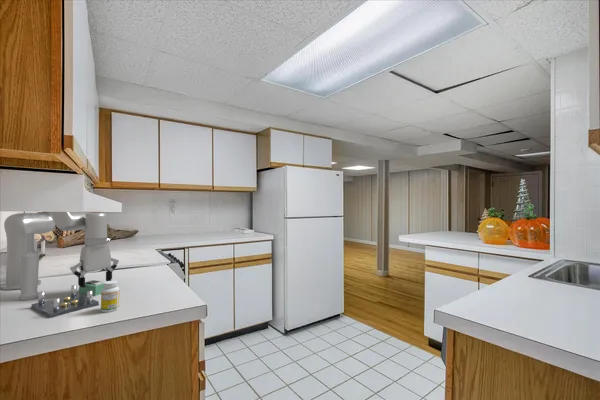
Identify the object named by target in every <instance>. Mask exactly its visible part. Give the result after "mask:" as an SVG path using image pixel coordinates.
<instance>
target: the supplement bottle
mask: <svg viewBox="0 0 600 400" xmlns="http://www.w3.org/2000/svg"><path fill="white" fill-rule="evenodd" d="M118 283H119V282H118V281H117V280H111V281H105V282H104V287H105V288H103V289H102V291H101V294H100V311H101V312H103V313H111V312H115V311H117V310H119V308H120V287H119V286H118V285H119V284H118Z"/></svg>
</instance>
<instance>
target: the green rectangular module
mask: <svg viewBox="0 0 600 400" xmlns="http://www.w3.org/2000/svg"><path fill="white" fill-rule="evenodd" d="M104 282H106V280H94V279H92V280H88V281H85V287H83V288H82V287H80V286H79V285H78V287H79V288H78V294H80V295H86V296H87V291H93V296H92V297H97V296H99V295H100V296H101V291H102V289H103V288H105V287H104Z"/></svg>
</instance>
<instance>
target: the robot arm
mask: <svg viewBox="0 0 600 400" xmlns="http://www.w3.org/2000/svg"><path fill="white" fill-rule="evenodd" d="M84 172H85V171H84ZM84 172H83V174H85V173H84ZM3 227H4V232H5V237H6V265H5V266H6V268H5V269H6V272H5V276H6V277H5V283H3V284H0V289H1V290H5V291H6V290H7V291H8V290H9V291H10V290H12V291H13V290H21V255H23V254H24V253H25V251H27V233H34V235H38V234H39V235H40V234H46V233H47V234H48V233H50V232H52V231H53V230H54V229H55V228H56V227H57V228H58V230H60V231H64V232H72V231H83V230H84V246H82V247H81V250H80V256H79V262H77V263H76V264H74V265H72V266H70V267H69V269H70V271H71V272H72V274H73V275H75V277H77V278H78V280H77V282H78V283H77V285H78V287H79V286H80V287H82V288H83V287H85V283H86V277H85V276H86V274H87V273H88V272H94V271H100V270H106V271H105V282H107V281H112V279H113V272H114V270H115V269H116V268H117V267H118V266H117V265H118V264H119V262H120V260H119V259H117V258H116V259H115V258H113V257H112V255H111V249H110V245H109V244H108V243H109V242H111V238H109V237H108V215H107V213H106V212H99V211H98V212H97V211H96V212H92V211H69V212H37V211H36V212H22V213H20V212H19V213H14V214H11V215H9V216H7V217H6V218H5V220H4V223H3ZM34 250H35V252H36V253H38V243H37V241H36V239H35V238H34ZM78 268H79V271H78ZM41 283H42V281H41V279H38V286H39V285H40V284H41Z"/></svg>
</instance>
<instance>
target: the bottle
mask: <svg viewBox="0 0 600 400" xmlns="http://www.w3.org/2000/svg"><path fill="white" fill-rule="evenodd" d="M34 239H35V234H34V233H27V251H25V253H24V254H23V255H21V289H20V294H19V300H20V301H30V300H34V299H35V300H36V299H37V298H39V291H38V286H39V285H38V280H39V267H40V266H39V264H40V254H39V253H38V252H37V253H36V252H35V250H34Z"/></svg>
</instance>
